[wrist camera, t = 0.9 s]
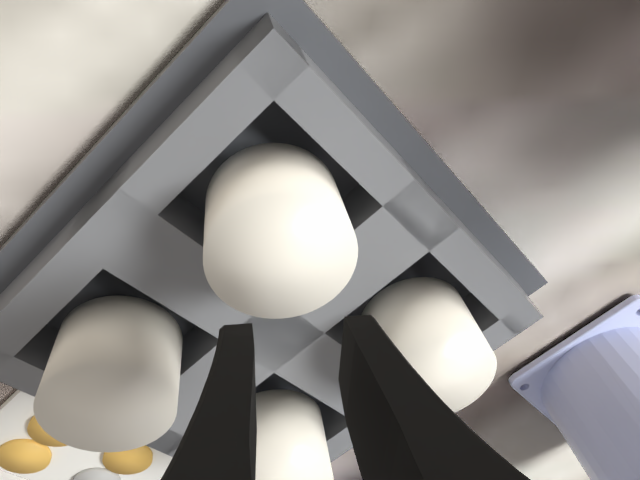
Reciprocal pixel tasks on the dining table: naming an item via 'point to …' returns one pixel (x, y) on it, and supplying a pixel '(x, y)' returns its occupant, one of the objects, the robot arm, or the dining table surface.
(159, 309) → the button
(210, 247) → the button
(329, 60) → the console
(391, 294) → the button
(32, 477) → the card
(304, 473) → the button
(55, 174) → the dining table surface
